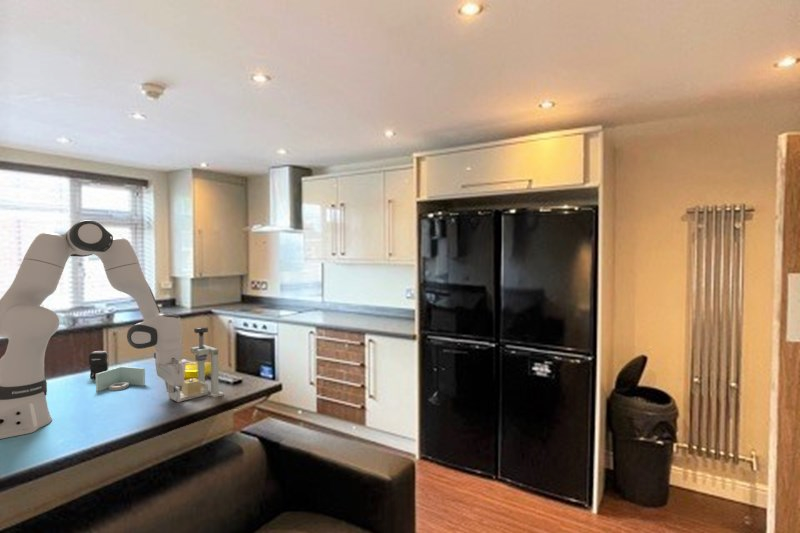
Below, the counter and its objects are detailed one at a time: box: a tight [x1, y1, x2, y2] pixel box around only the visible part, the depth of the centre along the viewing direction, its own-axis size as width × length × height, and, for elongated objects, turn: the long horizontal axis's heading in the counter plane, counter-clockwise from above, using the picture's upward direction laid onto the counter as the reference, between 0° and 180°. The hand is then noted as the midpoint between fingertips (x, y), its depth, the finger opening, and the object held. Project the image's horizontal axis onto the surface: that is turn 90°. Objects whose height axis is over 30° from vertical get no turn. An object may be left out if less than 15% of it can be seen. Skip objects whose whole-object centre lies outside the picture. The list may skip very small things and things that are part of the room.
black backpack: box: [88, 350, 110, 379], centre depth 195 cm, size 7×4×11 cm, turn 100°
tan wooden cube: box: [181, 378, 201, 395], centre depth 173 cm, size 5×5×5 cm
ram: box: [193, 326, 209, 362], centre depth 175 cm, size 5×5×12 cm
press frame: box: [190, 344, 225, 399], centre depth 176 cm, size 7×17×18 cm, turn 50°
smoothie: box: [179, 359, 188, 377], centre depth 187 cm, size 6×6×14 cm
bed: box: [168, 381, 209, 403], centre depth 172 cm, size 12×8×5 cm, turn 140°
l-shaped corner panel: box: [95, 365, 146, 392], centre depth 182 cm, size 12×12×8 cm
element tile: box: [184, 361, 211, 380], centre depth 201 cm, size 15×15×5 cm
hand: (170, 392), depth 166 cm, fingers closed
